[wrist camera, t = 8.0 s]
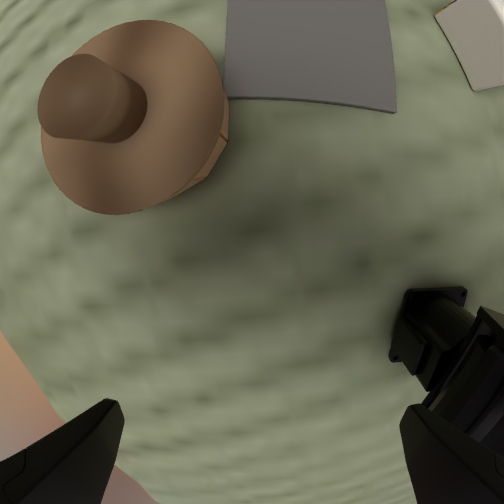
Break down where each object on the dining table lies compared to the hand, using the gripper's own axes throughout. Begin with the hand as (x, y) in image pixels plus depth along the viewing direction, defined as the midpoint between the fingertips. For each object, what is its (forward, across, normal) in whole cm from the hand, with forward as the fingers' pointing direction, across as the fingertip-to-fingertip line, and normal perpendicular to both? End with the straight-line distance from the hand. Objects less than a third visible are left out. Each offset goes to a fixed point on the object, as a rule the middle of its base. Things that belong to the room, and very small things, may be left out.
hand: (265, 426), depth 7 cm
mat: (+12, -3, -17) cm, 21 cm away
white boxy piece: (+13, -18, -20) cm, 30 cm away
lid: (+8, +7, -10) cm, 14 cm away
